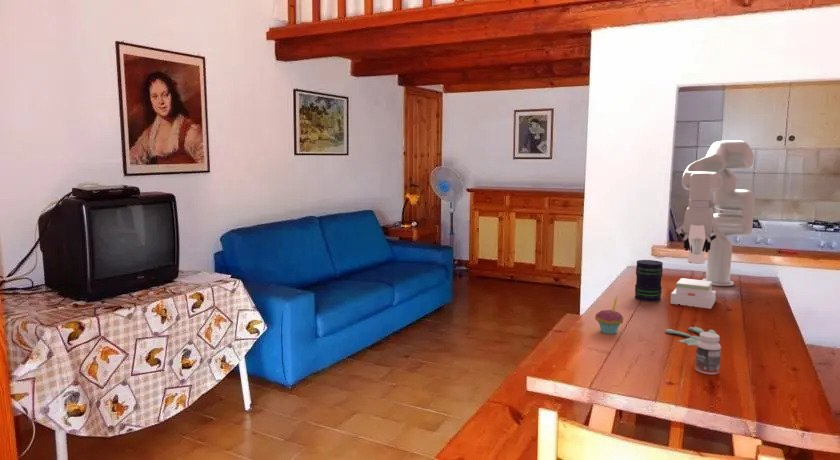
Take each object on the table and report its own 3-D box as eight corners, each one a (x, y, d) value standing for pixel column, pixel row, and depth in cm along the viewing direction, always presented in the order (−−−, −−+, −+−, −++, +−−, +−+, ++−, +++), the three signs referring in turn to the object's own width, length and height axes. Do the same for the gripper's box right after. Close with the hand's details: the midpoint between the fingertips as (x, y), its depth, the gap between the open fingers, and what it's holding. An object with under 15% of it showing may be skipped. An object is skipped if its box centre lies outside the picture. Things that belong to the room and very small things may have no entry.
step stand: (676, 296, 228) (678, 276, 227) (715, 301, 221) (716, 281, 220) (670, 303, 217) (671, 283, 216) (710, 308, 209) (712, 287, 208)
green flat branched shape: (690, 350, 165) (691, 342, 165) (642, 329, 186) (643, 322, 186) (746, 344, 170) (747, 337, 170) (693, 324, 191) (694, 317, 191)
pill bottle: (690, 367, 150) (692, 331, 149) (710, 366, 150) (713, 331, 149) (703, 375, 144) (705, 338, 143) (724, 374, 145) (726, 337, 144)
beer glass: (701, 261, 220) (703, 223, 218) (709, 264, 213) (711, 225, 211) (683, 260, 220) (685, 223, 219) (690, 264, 214) (692, 225, 212)
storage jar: (634, 300, 222) (635, 263, 220) (634, 294, 231) (636, 259, 229) (661, 302, 218) (663, 265, 216) (660, 297, 227) (662, 260, 225)
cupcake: (622, 329, 184) (624, 293, 182) (622, 337, 176) (624, 299, 174) (595, 326, 186) (596, 291, 185) (594, 334, 178) (595, 297, 177)
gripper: (726, 205, 212) (723, 251, 215) (676, 203, 222) (674, 247, 224) (724, 206, 206) (720, 254, 208) (673, 204, 216) (670, 250, 218)
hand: (696, 250), depth 216 cm, fingers closed on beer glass, 6 cm apart
